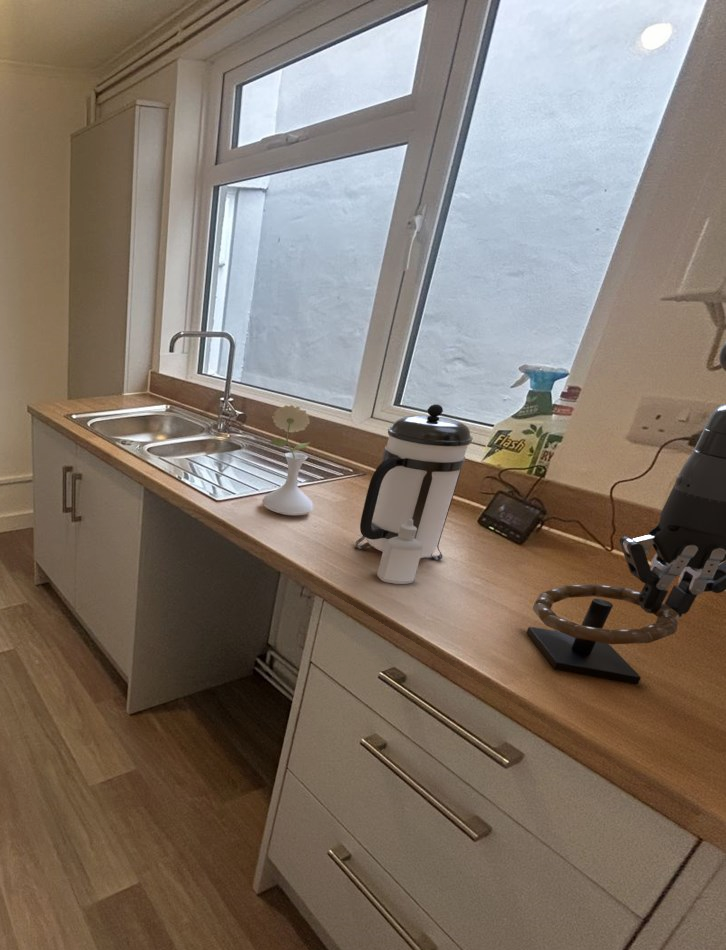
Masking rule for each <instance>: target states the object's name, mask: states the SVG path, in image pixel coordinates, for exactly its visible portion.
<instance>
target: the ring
mask: <svg viewBox="0 0 726 950" xmlns="http://www.w3.org/2000/svg"><path fill="white" fill-rule="evenodd" d="M640 593H641V591H638V590H636V589H632V588H629V587H625V586H624V587H623V586H616V585H606V584H597V583H589V584H588V583H583V584H570V585H567V584H566V585H560V586H558V587H557V586H556V587H555V588H552V589H549V590H546V591H544V592H541V593H539V594H538V596H537V598H536V599H535V602H534V604H533V605H532V611H533V612H534V614H535V615H536V616H537V617H538V618H539V620H541V622H542V623H543V624H544V625H545V626H547V627H548V628H550V629H553V630H554V631H560V632H562V633H565V634H567V635H569V636H572V637H574V638H579V639H585V640H590V641H596V642H601V643H607V644H609V645H633V644H634V645H635V644H636V645H637V644H650V643H653V642H655V641H659V640H661V639H664V638H667V637H669V636H673V635H675V634H676V632H677V630H678V626H679V621H680V617H679V614H678V613H677V612H676V611H675V610H673V609H672V608H671V607H670V606H668V605H667V604H666V603H665V601H663V603H662V605H661V606H660V608H659V610H658V611H657V613H656V614H654V616H655V617H656V619H655V620H656V621H655V622H653V623H651V624H650V625H647V626H644V627H641V628H631V629H630V628H625V629H623V628H621V629H606V628H602V629H601V628H595V627H589V626H583V625H582V624H578V623H576V622H573V621H570V620H568V619H566V618H563V617H560V616H558V614H556V613H555V611H553V609H552V608H553V605H554V604H555V603H558V602H560V601H563V600H566V599H570V598H590V597H591V598H592V597H595V598H596V597H597V598H602V599H603V598H604V599H611V600H617V601H618V600H619V601H624V602H627V603H629V604H633V605H636V606H639V607H640V604H639V603H638V600H637V599H638V597H639V596H640Z"/></svg>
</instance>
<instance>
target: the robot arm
mask: <svg viewBox="0 0 726 950" xmlns="http://www.w3.org/2000/svg"><path fill="white" fill-rule="evenodd" d="M718 360H719V361H718V362H719V366H720V367H721V368H722V369H723V371H725V372H726V341H725V342H724V343H723V345H722V346H721V348H720V351H719V355H718ZM619 544H620V547H621V550H622V553H623V555H624V559H625V562H626V565H627V568H628V571H629V573H630V574H631V575H632V576H634V577H635V578H636V579H637V580H638V581H640V582H641V583H643V584H644V585H643V587H642V588H641V591H640V592H641V593H640V596H639V597H638V599H637V600H638V603H639V604H640V606H639V608H641V609H642V610H643V611H644V612H646V613H647V614H651V615H655V614H656V613H657V611H658V610H659V608H660V606H661V605H662V603H663V602H664V603H666V604H667V605H668V606H670V607H671V608H672V609H673V610H675V611H676V612H677V613H678V614H679V618H681V617H682V615H686V614H687V613H688V612H690V609H691V607H692V606H693V603H694V602H695V600H696V598H697V596H699V595H701V594H703V593H706V592H712V593H715V594H720V593H723V592H725V591H726V403H725V404H721V405H720V406H718V407H717V408H715V409H714V410H713V411H712V413H711V415H710V416H709V418H708V419H707V421H706V424H705V426H704V428H703V429H702V432H701V434H700V436H699V438H698V440H697V442H696V444H695V447H694V449H693V450H692V453H691V454H690V455H689V457H688V458H687V460H686V461H685V463H684V464H683V465H682V466H681V469H680V472H679V474H678V475H677V477H676V478H675V482H674V484H673V486H672V489H671V491H670V493H669V495H668V497H667V499H666V501H665V503H664V506H663V508H662V510H661V512H660V515H659V522H658V523H657V524H656V526H655V527H652V528H651V529H650V530H649V532H648V533H647V535H642V536H639V537H635V538H634V537H633V538H632V537H630V536H628V535H627V536H625V535H624V536H622V537H620V539H619ZM651 547H653V548H654V551H655V554H654V555H653V557H652V559H651V561H650V563H649V561H648V557H647V555H649V554H650V553H651V552H650V551H651ZM650 564H651V566H650ZM676 577H679V578H678V580H677V584H678V585H675V584H674V585H673V586H672V588H671V589H670V592H669V591H668V589H669V588H670V587H671V585H672V583H673V582H674V580H675V578H676ZM668 593H669V594H668ZM667 595H668V596H667ZM666 596H667V598H666ZM665 599H666V600H665ZM664 600H665V601H664Z"/></svg>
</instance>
